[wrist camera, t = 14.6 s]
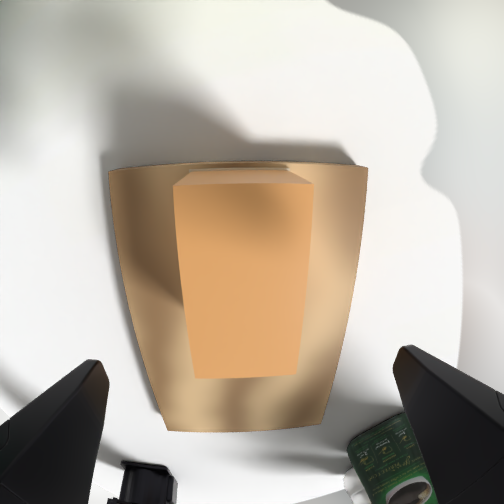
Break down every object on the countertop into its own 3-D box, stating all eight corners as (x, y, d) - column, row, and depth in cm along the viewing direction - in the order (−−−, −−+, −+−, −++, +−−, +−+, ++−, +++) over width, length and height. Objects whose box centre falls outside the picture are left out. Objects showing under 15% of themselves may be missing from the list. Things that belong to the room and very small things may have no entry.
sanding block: (200, 321, 17) (193, 379, 13) (189, 169, 14) (169, 183, 9) (281, 318, 18) (297, 375, 13) (288, 168, 14) (316, 181, 10)
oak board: (169, 418, 23) (167, 430, 22) (118, 168, 15) (108, 171, 14) (317, 412, 24) (320, 424, 23) (357, 165, 16) (368, 167, 14)
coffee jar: (355, 457, 30) (390, 564, 12) (338, 440, 27) (378, 572, 10) (418, 424, 28) (468, 526, 11) (412, 401, 26) (477, 524, 8)
